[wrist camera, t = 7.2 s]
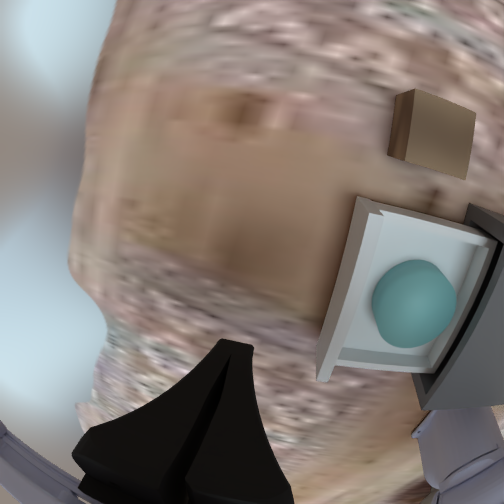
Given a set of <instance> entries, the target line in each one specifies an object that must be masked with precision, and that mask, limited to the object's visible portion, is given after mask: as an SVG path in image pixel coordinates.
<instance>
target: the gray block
mask: <svg viewBox="0 0 504 504" xmlns="http://www.w3.org/2000/svg"><path fill="white" fill-rule="evenodd" d="M463 225H466V226H469V227H473V228H476V229H479V230H482V231H484V232H486V233H487V234H489V235H490V236H491V237H493V238H494V239H495V240H497V241H498V243H497V246H496V249H495V252H494V254H493V257H492V260H491V262H490V265H489V268H488V270H487V273H486V275H485V278H484V280H483V283H482V285H481V287H480V290H479V292H478V294H477V296H476V298H475V301H474V303H473V305H472V307H471V309H470V311H469V313H468V315H467V317H466V319H465V321H464V323H463V325H462V327H461V329H460V331H459V333H458V334H457V336H456V338H455V340H454V342H453V344H452V345H451V347H450V349H449V350H448V352H447V354H446V356H445V357H444V359H443V361H442V362H441V364H440V365H439V367H438V369H437V370H436V372H435V373H434V374H432V373H412V372H411V375H412V378H413V381H414V385H415V388H416V392H417V395H418V399H419V403H420V407H421V410H449V409H465V408H477V407H486V406H495V405H502V404H504V215H501V214H498V213H496V212H493V211H490V210H487V209H485V208H482V207H479V206H476V205H473V204H470V203H469V206H468V210H467V213H466V217H465V220H464V224H463Z"/></svg>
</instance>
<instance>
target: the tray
mask: <svg viewBox="0 0 504 504" xmlns="http://www.w3.org/2000/svg"><path fill="white" fill-rule="evenodd" d="M497 243H498V241H497V240H495V239H494V238H493V237H491V236H490V235H489V234H487V233H486V232H484V231H482V230H479V229H476V228H473V227H469V226H466V225H463V224H459V223H456V222H452V221H449V220H445V219H442V218H438V217H434V216H431V215H427V214H423V213H419V212H415V211H411V210H407V209H403V208H399V207H395V206H391V205H387V204H382V203H378V202H374V201H371V200H370V199H368V198H363V197H359V196H357V198H356V203H355V208H354V212H353V217H352V221H351V225H350V229H349V234H348V238H347V242H346V246H345V250H344V254H343V258H342V261H341V265H340V269H339V273H338V276H337V280H336V283H335V287H334V290H333V294H332V297H331V301H330V304H329V307H328V311H327V314H326V317H325V321H324V324H323V327H322V330H321V333H320V336H319V339H318V342H317V345H316V381H321V382H328V380H329V378H330V375H331V373H332V371H333V369H334V366H335V365H338V366H346V367H355V368H364V369H374V370H385V371H397V372H412V373H432V374H434V373H435V372H436V370H437V369H438V367H439V365H440V364H441V362H442V361H443V359H444V357H445V356H446V354H447V352H448V350H449V349H450V347H451V345H452V344H453V342H454V340H455V338H456V336H457V334H458V333H459V331H460V329H461V327H462V325H463V323H464V321H465V319H466V317H467V315H468V313H469V311H470V309H471V307H472V305H473V303H474V301H475V298H476V296H477V294H478V292H479V290H480V287H481V285H482V283H483V280H484V278H485V275H486V273H487V270H488V268H489V265H490V262H491V260H492V257H493V254H494V252H495V249H496V246H497ZM409 260H425V261H428V262H430V263H432V264H434V265H435V266H437V267H438V268H439V269H440V271H441V272H442V273H443V274H444V276H445V277H446V278H447V279H448V281H449V282H450V283H451V284H452V286H453V288H454V290H455V293H456V309H455V312H454V315H453V317H452V320H451V321H450V323H449V324H448V326H447V327H446V328H445V330H444V331H443V332H442V333H441V334H440V335H439V336H437V337H436V338H435V339H433V340H432V341H430V342H428V343H426V344H424V345H421V346H418V347H414V348H398V347H395V346H392V345H390V344H388V343H387V342H386V341H385V340H384V339H383V338H382V337H381V335H380V333H379V331H378V327H377V324H376V321H375V318H374V314H373V311H372V295H373V292H374V290H375V287H376V285H377V284H378V282H379V281H380V279H381V278H382V277H383V276H384V275H385V273H387V272H388V271H389V270H390V269H391V268H393V267H394V266H396V265H398V264H400V263H403V262H405V261H409Z"/></svg>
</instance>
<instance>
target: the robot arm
mask: <svg viewBox="0 0 504 504" xmlns="http://www.w3.org/2000/svg"><path fill="white" fill-rule="evenodd" d="M253 351H254V347H253V346H252V345H251V344H246V343H241V342H236V341H232V340H227V339H223V338H222V339H220V340H219V341H218V342H217V344H216V345H215V346H214V347H213V348H212V350H211V351H210V352H209V353H208V354H207V355H206V356H205V357H204V359H203V360H202V361H201V362H200V363H199V364H198V365H197V366H196V367H195V368H194V369H193V370H191V371H190V372H189V373H188V374H187V375H186V376H185V377H183V378H182V379H181V380H180V381H179V382H178V383H176V384H175V385H174V386H173V387H171V388H170V389H169V390H167V391H166V392H164V393H163V394H161V395H160V396H159V397H157V398H155V399H154V400H152V401H150V402H149V403H147V404H145V405H144V406H142V407H140V408H138V409H136V410H134V411H132V412H130V413H128V414H126V415H123V416H121V417H119V418H117V419H114V420H112V421H109V422H106V423H103V424H100V425H97V426H94V427H91V428H90V429H89V430H88V431H87V432H86V433H85V434H84V436H83V437H82V438H81V439H80V441H79V442H78V444H77V445H76V447H75V449H74V450H73V452H72V457H73V459H74V460H75V462H76V463H77V464H78V465H79V467H80V468H81V469H82V470H83V471H84V472H85V473H86V474H85V475H84V477H83V479H82V481H80V480H79V479H77V478H75V477H73V476H71V475H70V474H68V473H67V472H65V471H63V470H62V469H60V468H59V467H57V466H56V465H54V464H53V463H51V462H50V461H48V460H47V459H45V458H44V457H42V456H41V455H40V454H38V453H37V452H35V451H34V450H33V449H31V448H30V447H29V446H27V445H26V444H24V443H23V442H22V441H21V440H20V439H18V438H17V437H16V436H15V435H13V434H12V433H11V432H10V431H8V430H7V428H6V427H5V425H4V424H3V423H2V422H1V420H0V485H1V486H2V487H3V488H4V489H5V490H6V491H7V492H8V493H10V494H11V495H12V496H13V497H14V498H15V499H16V500H17V501H18V502H19V503H21V504H85V503H84V502H82V501H80V500H79V499H78V497H80V498H82V499H84V500H86V501H87V502H89V503H91V504H294V499H293V494H292V490H291V486H290V484H289V482H288V481H287V479H286V477H285V476H284V474H283V472H282V470H281V468H280V466H279V464H278V462H277V460H276V458H275V456H274V453H273V451H272V449H271V446H270V444H269V441H268V439H267V436H266V433H265V430H264V427H263V424H262V421H261V417H260V413H259V409H258V405H257V400H256V395H255V389H254V381H253V371H252V357H253ZM411 437H412V438H418V443H419V448H420V454H421V460H422V466H423V472H424V476H425V479H426V480H427V482H428V483H429V484H430V485H431V486H432V487H434V488H436V489H439V491H438V492H436V493H435V495H434V497H433V500H432V502H431V504H504V440H503V437H502V434H501V432H500V429H499V426H498V424H497V421H496V418H495V416H494V413H493V411H492V408H491V406H486V407H477V408H465V409H449V410H432V411H431V412H430V413H429V414H428V416H427V417H426V418H425V419H424V420H423V422H422V423H421V424H420V425H419V426H418V427H417V429H416V430H415V431H414V432H413V433H412V434H411ZM77 496H78V497H77Z"/></svg>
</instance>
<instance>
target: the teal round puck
mask: <svg viewBox="0 0 504 504" xmlns="http://www.w3.org/2000/svg"><path fill="white" fill-rule="evenodd" d="M455 309H456V293H455V290H454V288H453V286H452V284H451V283H450V282H449V281H448V279H447V278H446V277H445V276H444V274H443V273H442V272H441V271H440V269H439V268H438V267H437V266H435V265H434V264H432V263H430V262H428V261H425V260H409V261H405V262H403V263H400V264H398V265H396V266H394V267H393V268H391V269H390V270H389V271H388V272H387V273H385V275H384V276H383V277H382V278H381V279H380V281H379V282H378V284H377V285H376V287H375V290H374V292H373V295H372V311H373V314H374V318H375V321H376V324H377V327H378V331H379V333H380V335H381V337H382V338H383V339H384V340H385V341H386V342H387V343H388V344H390V345H392V346H395V347H398V348H414V347H418V346H421V345H424V344H426V343H428V342H430V341H432V340H433V339H435V338H436V337H437V336H439V335H440V334H441V333H442V332H443V331H444V330H445V328H446V327H447V326H448V324H449V323H450V321H451V320H452V317H453V315H454V312H455Z"/></svg>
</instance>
